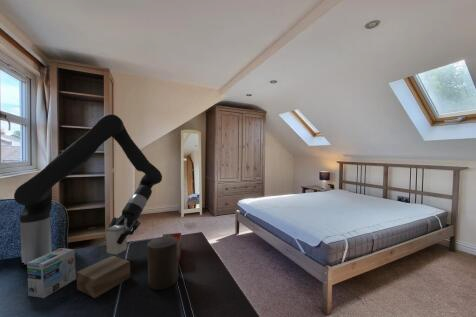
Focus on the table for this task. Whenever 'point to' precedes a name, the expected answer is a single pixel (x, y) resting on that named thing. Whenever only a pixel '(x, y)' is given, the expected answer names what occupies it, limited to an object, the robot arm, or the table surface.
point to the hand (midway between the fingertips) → (113, 242)
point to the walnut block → (103, 276)
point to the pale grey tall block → (115, 239)
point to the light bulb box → (51, 272)
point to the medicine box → (179, 243)
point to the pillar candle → (162, 263)
